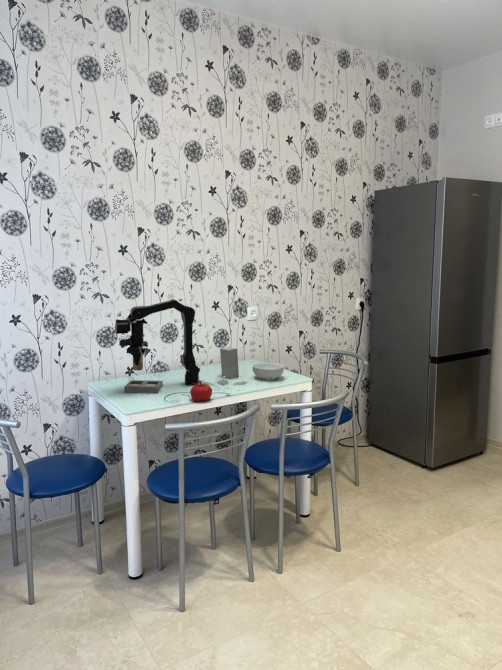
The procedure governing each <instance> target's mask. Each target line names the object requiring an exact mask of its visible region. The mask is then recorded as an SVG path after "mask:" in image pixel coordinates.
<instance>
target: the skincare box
mask: <svg viewBox="0 0 502 670" xmlns="http://www.w3.org/2000/svg"><path fill="white" fill-rule="evenodd" d="M219 352H220V367H221V368H220V369H221V371H220V373H221V376H222V377H224V376H225V377H224V378H227V379H233V378H239V376H240V374H239V373H240V372H239V371H240V370H239V357H238V356H239V354H238V348H235V347H231V346H226V347H220V349H219Z"/></svg>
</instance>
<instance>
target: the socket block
mask: <svg viewBox="0 0 502 670" xmlns="http://www.w3.org/2000/svg"><path fill="white" fill-rule="evenodd" d="M163 383H164V382H163V380H148V379H147V380H146V379H144V380H142V379H141V380H140V379H139V380H137V379H135V380H133V379H130V380H129V381H128V382H127V383H126V384H125V385H124V386H123V388H124V394H125V393H126V394H158V393H159V392H160V391H161V390H162V388H163V386H164V385H163Z"/></svg>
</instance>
